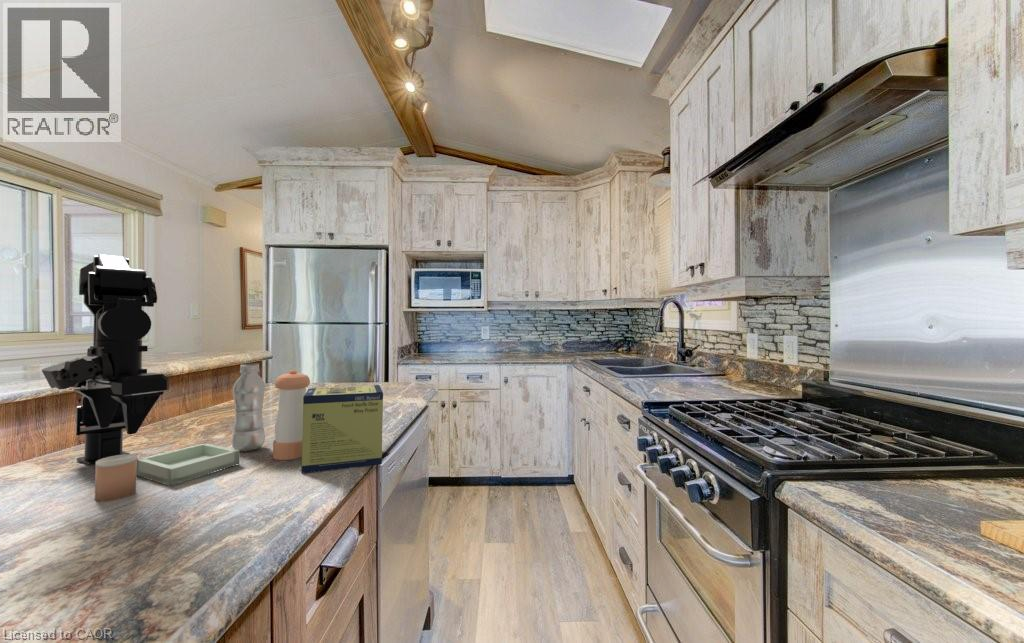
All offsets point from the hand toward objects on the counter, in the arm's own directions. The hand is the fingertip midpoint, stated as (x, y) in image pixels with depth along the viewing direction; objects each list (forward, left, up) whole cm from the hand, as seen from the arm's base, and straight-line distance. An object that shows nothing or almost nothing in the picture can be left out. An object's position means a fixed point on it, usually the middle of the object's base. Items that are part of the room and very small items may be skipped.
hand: (117, 430), depth 68 cm
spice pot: (0, 0, -11) cm, 11 cm away
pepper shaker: (+8, +27, -11) cm, 30 cm away
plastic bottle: (-4, +25, -11) cm, 28 cm away
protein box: (+22, +29, -11) cm, 38 cm away
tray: (-2, +12, -11) cm, 16 cm away
